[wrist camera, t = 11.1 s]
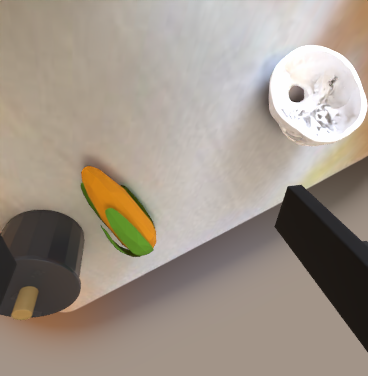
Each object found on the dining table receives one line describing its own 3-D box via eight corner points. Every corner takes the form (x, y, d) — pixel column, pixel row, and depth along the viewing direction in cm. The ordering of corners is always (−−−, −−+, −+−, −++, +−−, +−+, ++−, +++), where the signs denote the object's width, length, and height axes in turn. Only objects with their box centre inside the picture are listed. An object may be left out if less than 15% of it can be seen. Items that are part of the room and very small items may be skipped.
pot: (-10, 214, 39) (-42, 266, 31) (75, 205, 42) (66, 251, 34) (18, 266, 46) (-2, 319, 38) (89, 255, 49) (84, 303, 41)
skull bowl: (288, 161, 44) (316, 166, 32) (244, 96, 43) (255, 76, 31) (343, 125, 42) (394, 116, 30) (297, 56, 41) (331, 18, 29)
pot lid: (-46, 261, 31) (-68, 295, 27) (70, 245, 34) (64, 274, 30) (-3, 317, 39) (-15, 349, 35) (88, 301, 42) (86, 329, 38)
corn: (132, 276, 43) (52, 197, 31) (128, 244, 49) (59, 169, 37) (170, 256, 43) (105, 170, 31) (161, 227, 49) (103, 145, 37)
